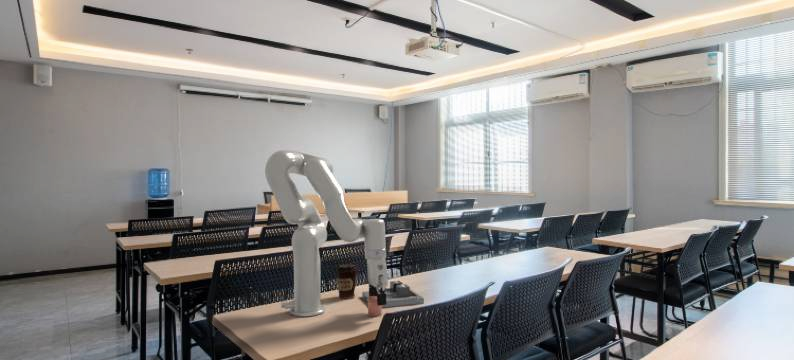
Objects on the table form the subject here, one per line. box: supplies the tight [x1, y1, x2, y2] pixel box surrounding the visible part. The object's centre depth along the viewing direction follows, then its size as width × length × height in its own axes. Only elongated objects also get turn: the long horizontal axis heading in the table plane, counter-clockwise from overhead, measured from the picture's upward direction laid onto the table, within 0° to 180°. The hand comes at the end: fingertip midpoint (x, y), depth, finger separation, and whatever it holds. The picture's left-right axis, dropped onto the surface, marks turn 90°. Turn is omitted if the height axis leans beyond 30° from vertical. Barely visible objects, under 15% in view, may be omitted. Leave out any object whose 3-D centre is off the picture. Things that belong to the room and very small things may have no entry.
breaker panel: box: [361, 280, 425, 309], centre depth 178 cm, size 20×17×6 cm
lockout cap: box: [367, 296, 382, 318], centre depth 160 cm, size 5×5×6 cm
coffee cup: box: [336, 264, 358, 300], centre depth 182 cm, size 9×8×13 cm
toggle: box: [396, 283, 411, 298], centre depth 175 cm, size 4×4×4 cm
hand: (377, 301), depth 160 cm, fingers open, 9 cm apart
